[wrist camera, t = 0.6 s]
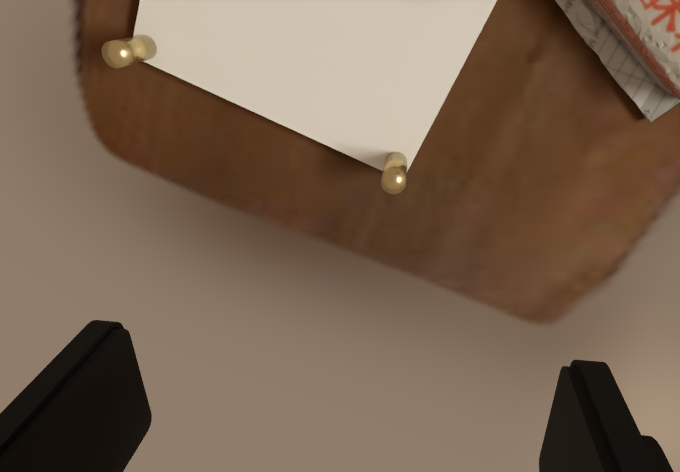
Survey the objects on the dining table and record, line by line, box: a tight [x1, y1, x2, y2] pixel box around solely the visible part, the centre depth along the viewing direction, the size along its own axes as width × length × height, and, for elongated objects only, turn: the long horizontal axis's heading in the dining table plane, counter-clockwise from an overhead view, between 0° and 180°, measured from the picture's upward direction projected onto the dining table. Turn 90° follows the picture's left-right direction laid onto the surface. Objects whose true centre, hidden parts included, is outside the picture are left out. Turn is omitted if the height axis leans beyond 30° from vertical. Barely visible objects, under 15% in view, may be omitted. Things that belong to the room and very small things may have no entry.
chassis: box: [102, 0, 497, 194], centre depth 30 cm, size 15×21×5 cm
